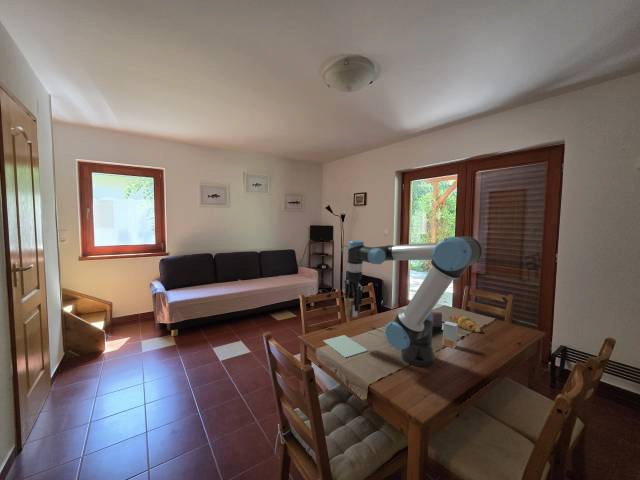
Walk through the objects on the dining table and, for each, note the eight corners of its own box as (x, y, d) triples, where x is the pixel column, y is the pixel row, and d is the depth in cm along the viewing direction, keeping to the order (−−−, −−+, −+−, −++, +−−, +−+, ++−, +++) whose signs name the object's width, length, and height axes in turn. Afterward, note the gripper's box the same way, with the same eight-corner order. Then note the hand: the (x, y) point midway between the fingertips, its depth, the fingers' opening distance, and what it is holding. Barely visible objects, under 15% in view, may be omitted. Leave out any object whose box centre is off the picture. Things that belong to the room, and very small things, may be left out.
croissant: (482, 338, 157) (488, 326, 158) (473, 333, 153) (478, 320, 154) (452, 324, 177) (457, 313, 178) (442, 319, 173) (447, 308, 174)
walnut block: (359, 316, 140) (360, 299, 139) (349, 317, 137) (350, 300, 136) (354, 313, 143) (355, 296, 142) (345, 314, 140) (346, 298, 139)
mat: (367, 350, 134) (367, 350, 134) (345, 358, 127) (345, 357, 127) (344, 335, 151) (344, 334, 151) (322, 341, 144) (322, 340, 144)
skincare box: (442, 345, 141) (443, 323, 140) (444, 342, 144) (446, 320, 143) (454, 349, 137) (455, 326, 136) (457, 346, 140) (458, 323, 139)
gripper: (371, 274, 132) (368, 320, 134) (351, 266, 146) (348, 308, 149) (358, 275, 128) (355, 322, 131) (339, 267, 143) (337, 310, 146)
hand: (352, 314), depth 140 cm, fingers closed on walnut block, 4 cm apart
